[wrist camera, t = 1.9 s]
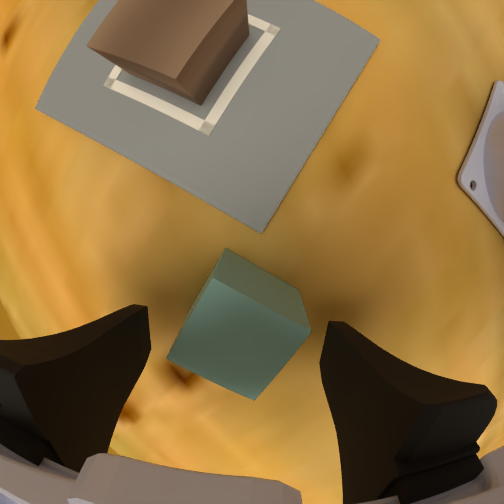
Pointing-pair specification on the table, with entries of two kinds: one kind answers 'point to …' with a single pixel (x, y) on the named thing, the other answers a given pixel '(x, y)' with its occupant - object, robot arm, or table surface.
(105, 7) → the slate board
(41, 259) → the table surface
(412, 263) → the table surface
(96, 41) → the walnut block
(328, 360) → the robot arm
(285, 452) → the table surface
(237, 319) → the teal block
